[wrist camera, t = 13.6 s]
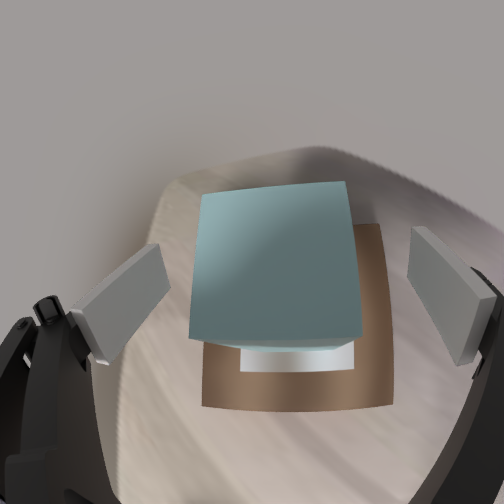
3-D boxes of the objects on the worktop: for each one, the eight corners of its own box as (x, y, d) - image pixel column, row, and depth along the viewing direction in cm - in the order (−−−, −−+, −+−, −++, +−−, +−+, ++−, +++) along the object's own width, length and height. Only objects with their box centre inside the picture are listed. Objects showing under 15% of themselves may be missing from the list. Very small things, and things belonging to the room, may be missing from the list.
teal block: (330, 280, 20) (344, 180, 9) (333, 350, 18) (362, 335, 7) (263, 284, 21) (202, 194, 10) (262, 351, 19) (188, 338, 8)
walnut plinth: (371, 243, 24) (379, 221, 20) (380, 397, 19) (394, 404, 15) (225, 252, 27) (209, 233, 23) (219, 400, 22) (200, 406, 18)
